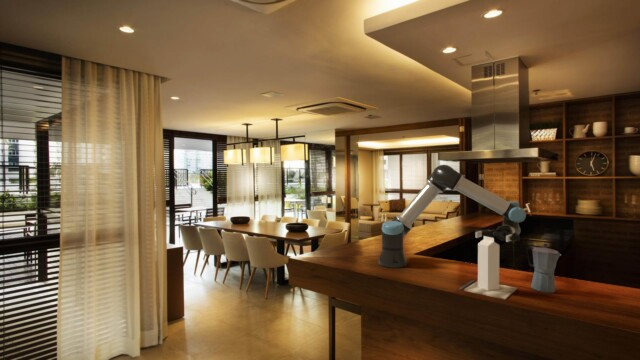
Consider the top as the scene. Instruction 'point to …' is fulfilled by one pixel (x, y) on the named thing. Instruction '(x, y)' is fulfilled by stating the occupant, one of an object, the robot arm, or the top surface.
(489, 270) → the milk
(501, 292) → the mat
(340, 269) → the top surface
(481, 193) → the robot arm
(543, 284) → the moka pot
